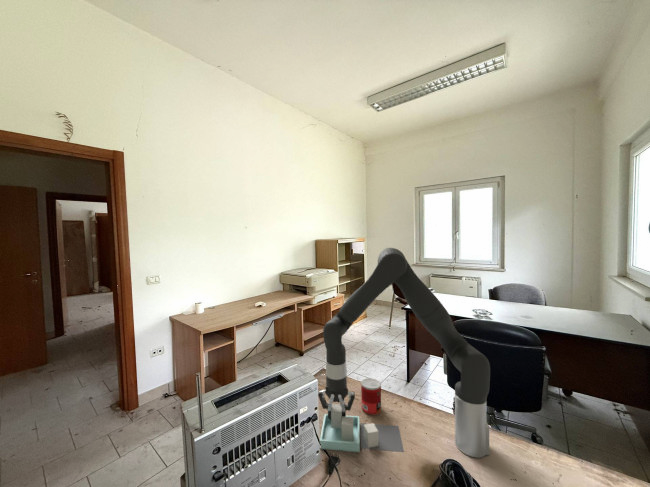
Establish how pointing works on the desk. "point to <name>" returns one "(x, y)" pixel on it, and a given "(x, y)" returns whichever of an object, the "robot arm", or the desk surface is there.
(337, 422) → the stone
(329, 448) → the bin
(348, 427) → the stone
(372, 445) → the stone
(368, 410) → the canned food
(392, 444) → the mat
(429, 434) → the desk surface
